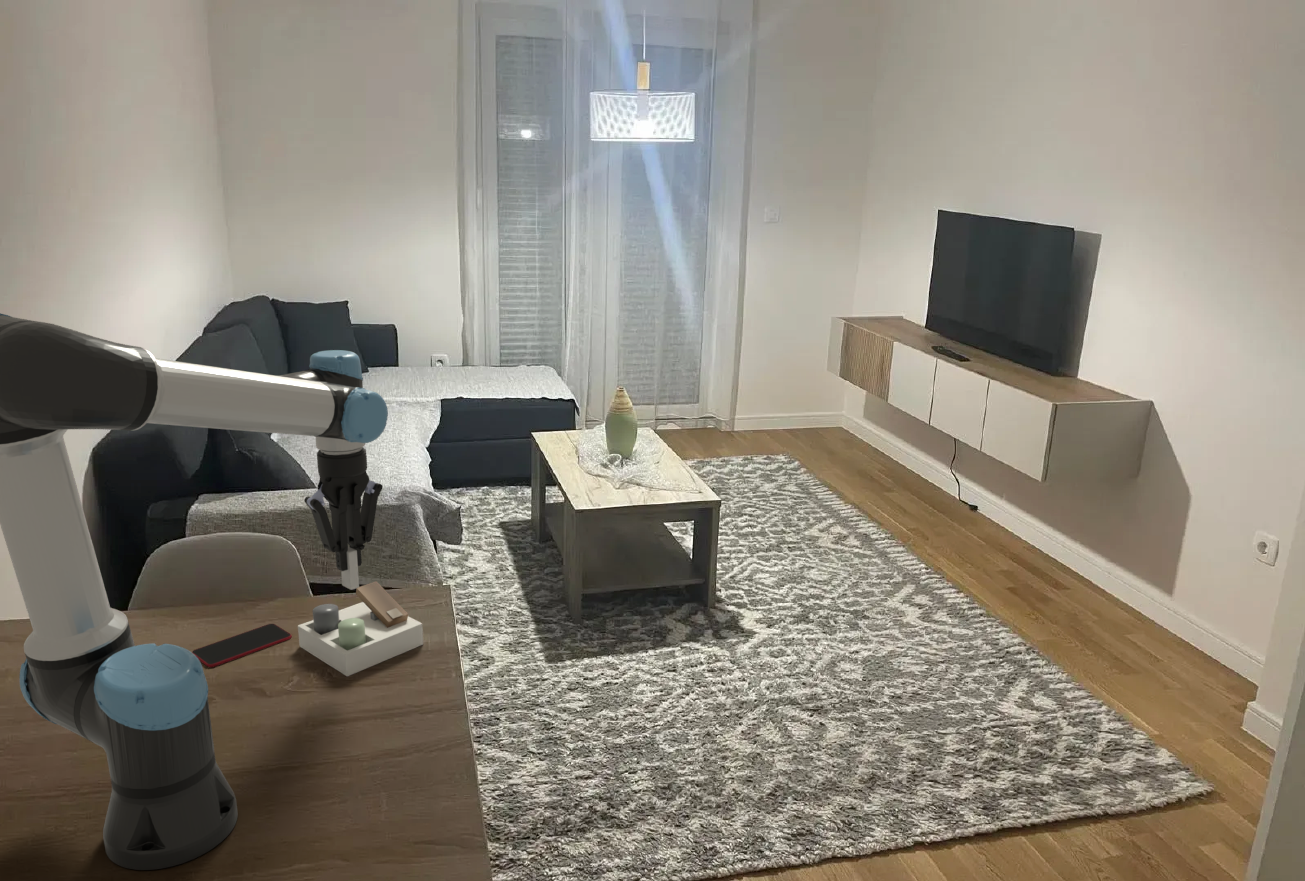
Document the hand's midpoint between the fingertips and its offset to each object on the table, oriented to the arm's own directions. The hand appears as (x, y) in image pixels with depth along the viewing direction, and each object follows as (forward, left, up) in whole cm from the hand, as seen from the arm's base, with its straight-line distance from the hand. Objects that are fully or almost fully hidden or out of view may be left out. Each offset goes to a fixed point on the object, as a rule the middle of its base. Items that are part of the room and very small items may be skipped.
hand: (350, 586), depth 162 cm
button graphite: (0, +8, -11) cm, 13 cm away
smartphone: (-10, +19, -14) cm, 26 cm away
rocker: (+8, +4, -7) cm, 12 cm away
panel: (+4, +4, -14) cm, 15 cm away
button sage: (0, 0, -11) cm, 11 cm away
